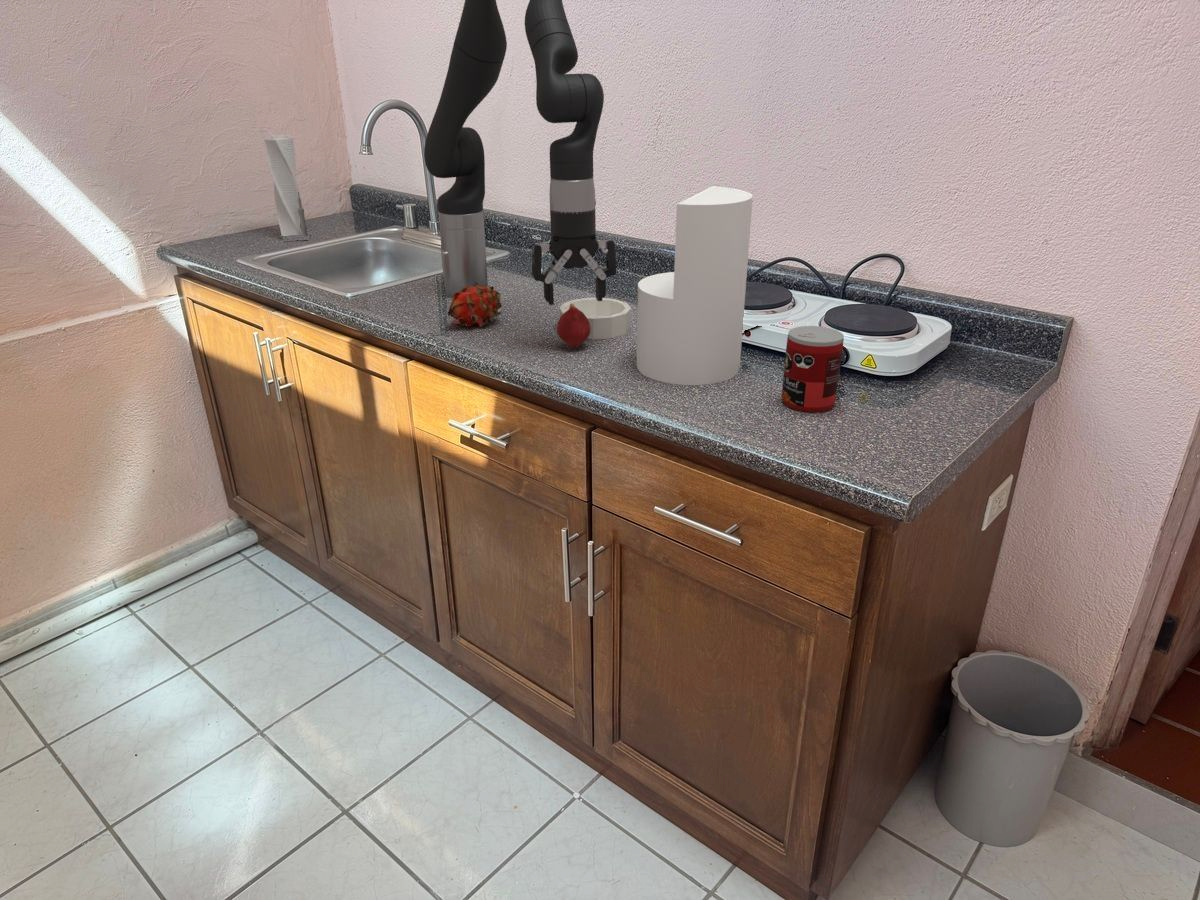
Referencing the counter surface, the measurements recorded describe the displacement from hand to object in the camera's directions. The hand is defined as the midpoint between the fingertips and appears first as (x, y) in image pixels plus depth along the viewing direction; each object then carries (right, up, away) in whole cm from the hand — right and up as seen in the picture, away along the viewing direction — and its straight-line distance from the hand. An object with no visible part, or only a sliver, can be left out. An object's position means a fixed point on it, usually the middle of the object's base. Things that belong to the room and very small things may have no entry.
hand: (575, 302), depth 146 cm
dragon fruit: (-20, -2, +16) cm, 25 cm away
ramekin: (+3, -3, +14) cm, 14 cm away
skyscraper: (-79, +32, +84) cm, 120 cm away
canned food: (+36, -19, -18) cm, 44 cm away
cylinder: (+19, -12, -4) cm, 23 cm away
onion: (0, -8, +4) cm, 9 cm away
